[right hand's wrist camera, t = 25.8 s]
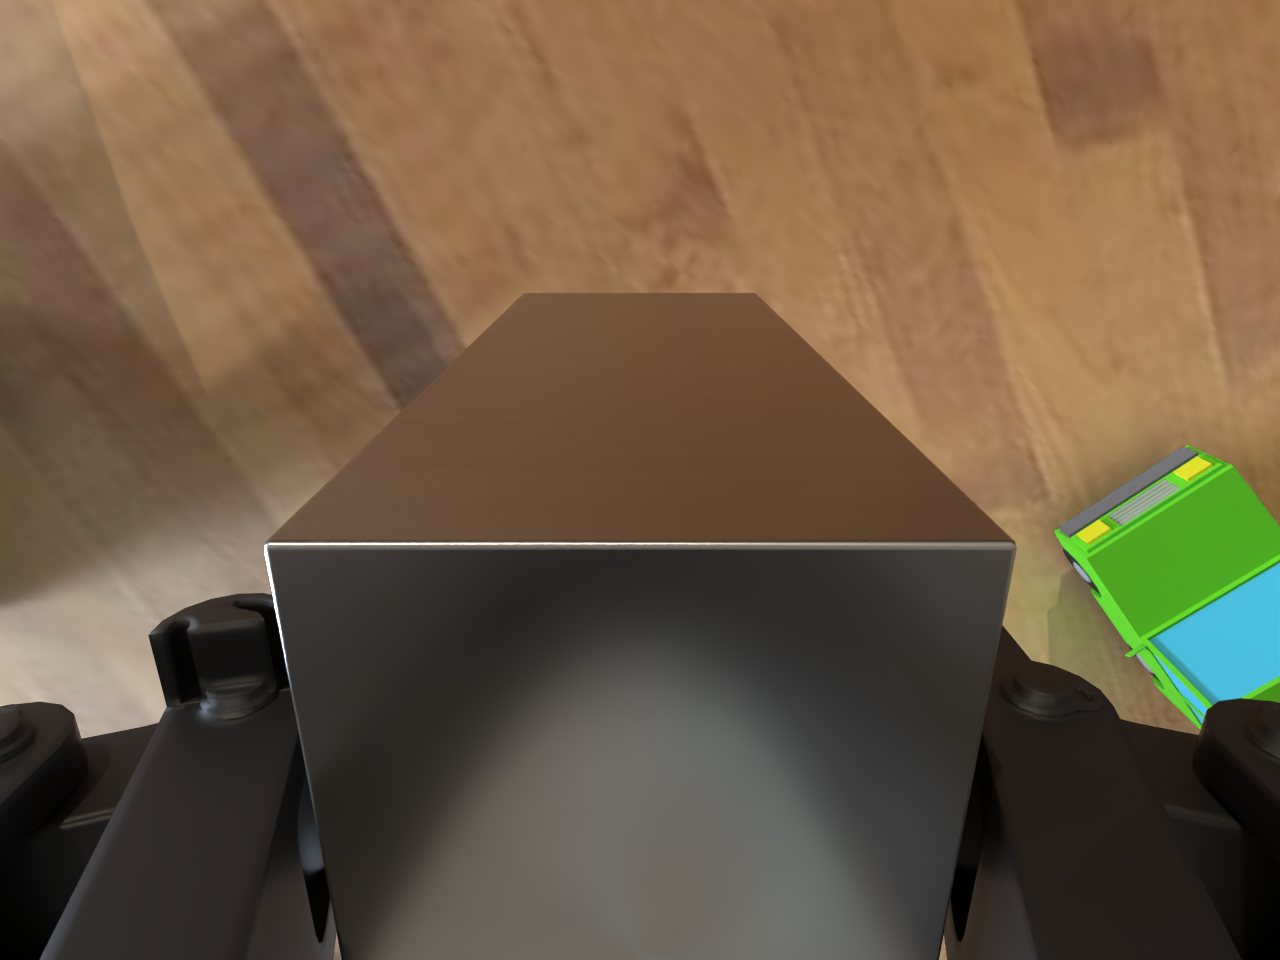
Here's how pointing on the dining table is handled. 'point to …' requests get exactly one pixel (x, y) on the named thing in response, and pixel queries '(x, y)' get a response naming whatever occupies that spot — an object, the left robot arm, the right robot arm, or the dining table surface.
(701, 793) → the brick
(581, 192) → the dining table surface
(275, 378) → the dining table surface
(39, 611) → the dining table surface
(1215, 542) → the toy car
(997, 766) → the right robot arm
